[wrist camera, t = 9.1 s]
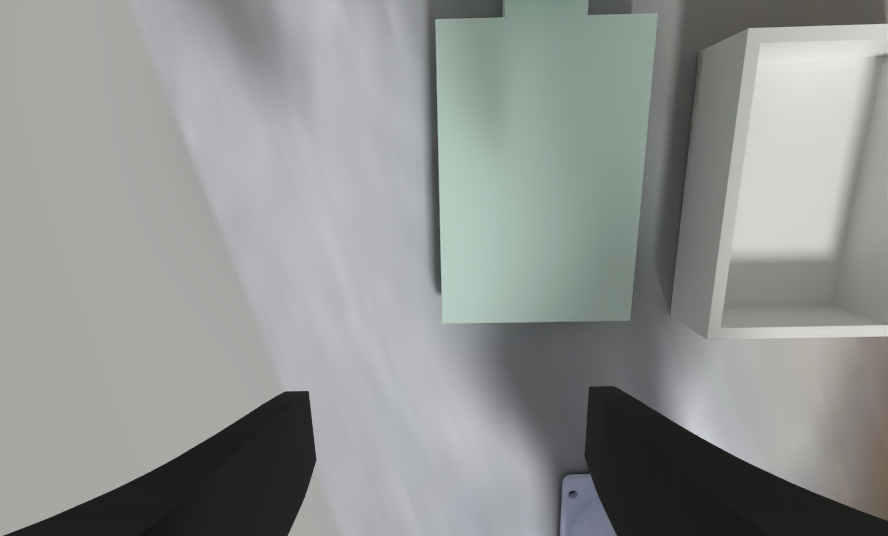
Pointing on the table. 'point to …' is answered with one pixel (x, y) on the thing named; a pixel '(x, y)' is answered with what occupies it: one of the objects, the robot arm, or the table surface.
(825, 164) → the tub
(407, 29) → the table surface
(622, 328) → the table surface
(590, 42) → the lid
